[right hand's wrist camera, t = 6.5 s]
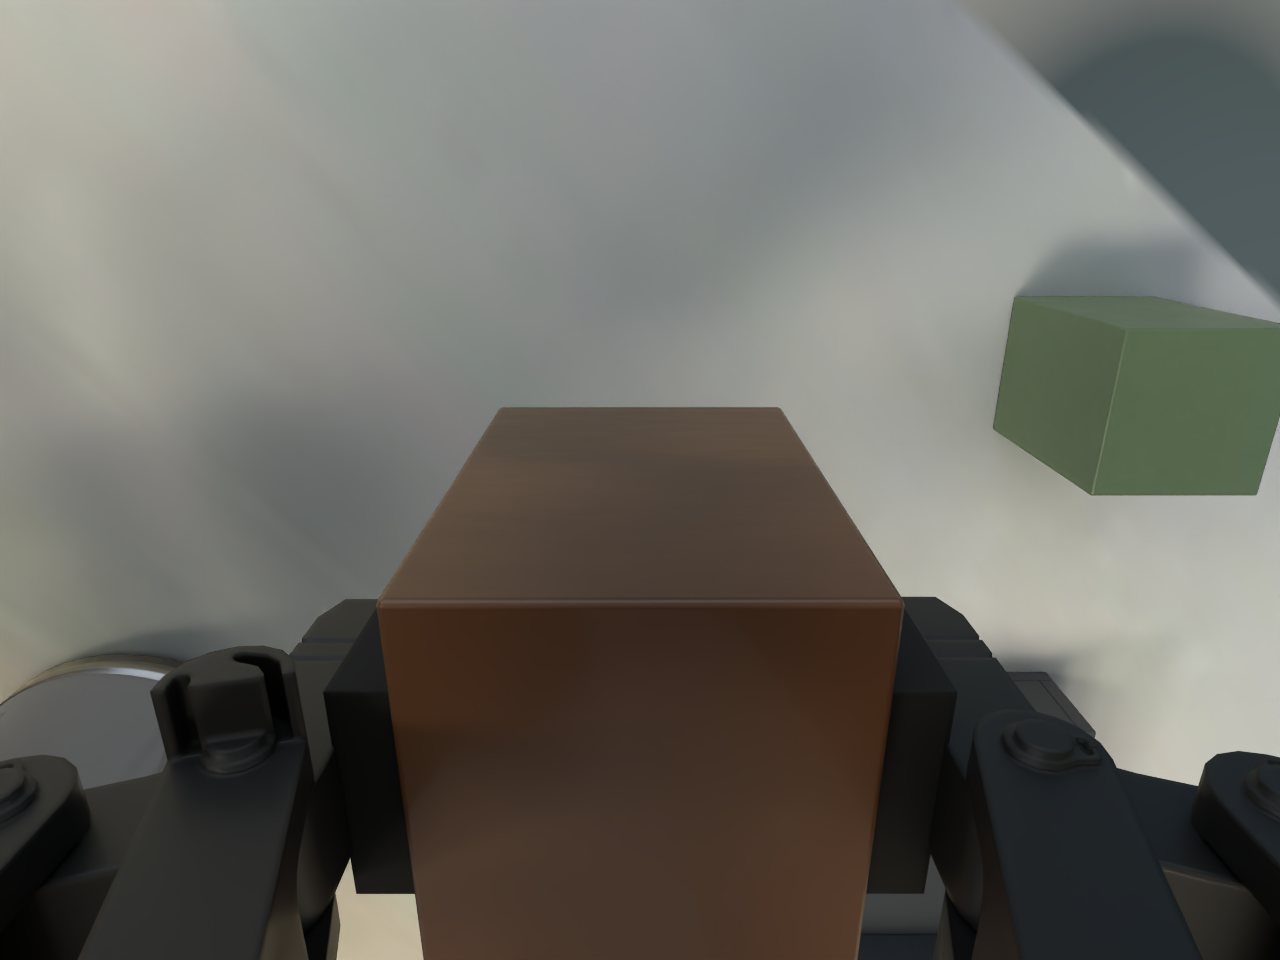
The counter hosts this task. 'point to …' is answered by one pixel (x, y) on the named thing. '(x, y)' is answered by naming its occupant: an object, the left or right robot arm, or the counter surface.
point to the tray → (910, 922)
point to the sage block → (1141, 394)
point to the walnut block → (640, 693)
